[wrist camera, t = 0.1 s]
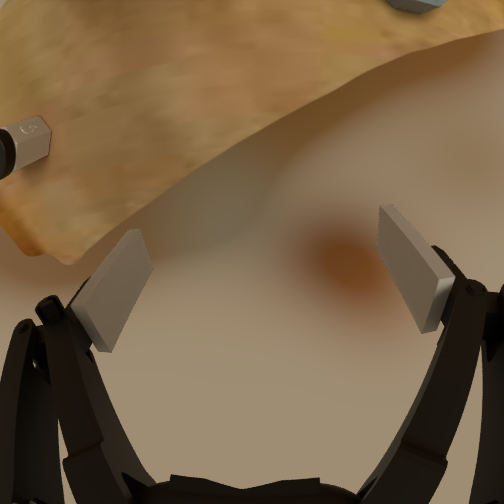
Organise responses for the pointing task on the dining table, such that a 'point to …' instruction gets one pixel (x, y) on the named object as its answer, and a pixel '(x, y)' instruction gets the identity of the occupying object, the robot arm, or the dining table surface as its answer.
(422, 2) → the bowl
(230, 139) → the dining table surface
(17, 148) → the jar
